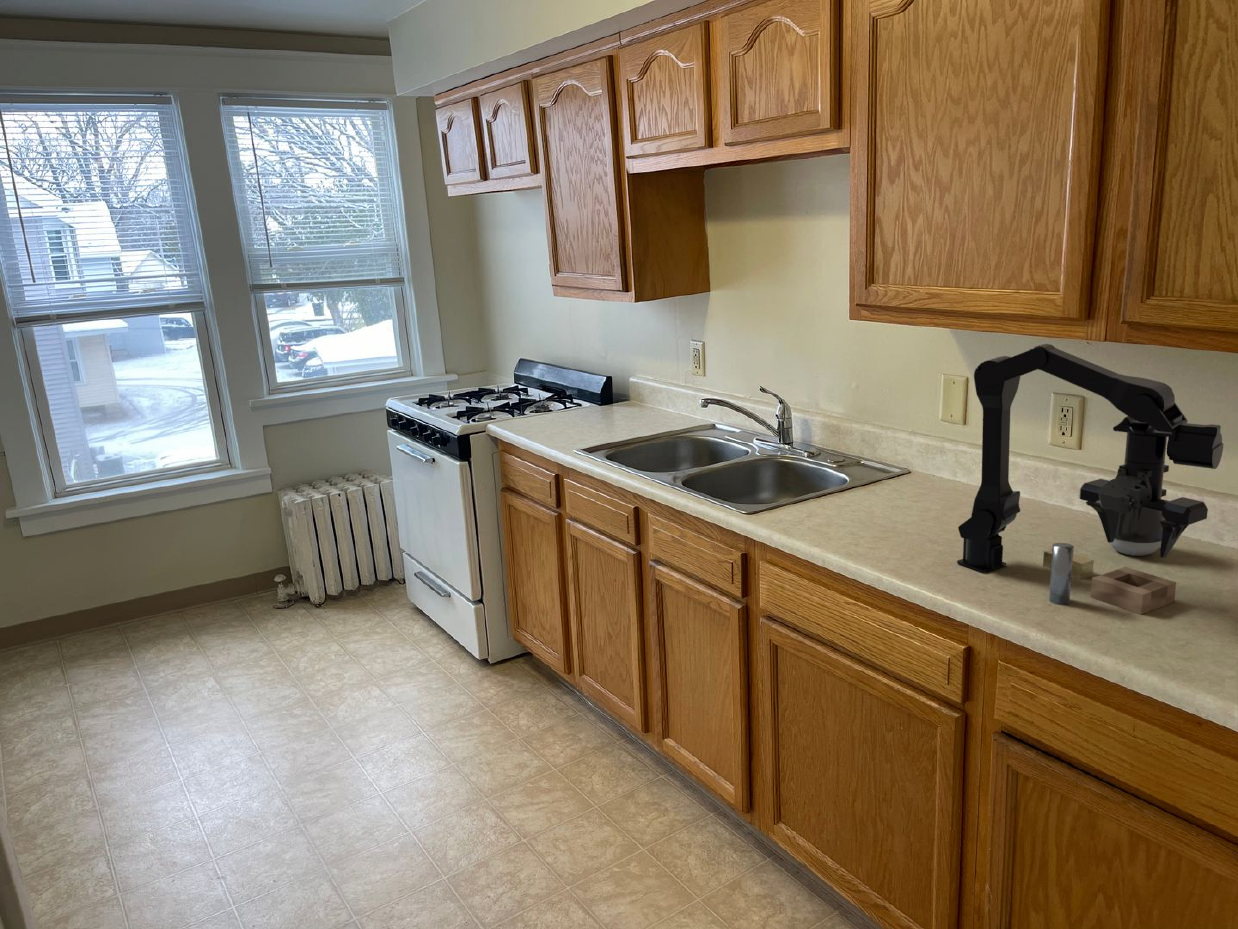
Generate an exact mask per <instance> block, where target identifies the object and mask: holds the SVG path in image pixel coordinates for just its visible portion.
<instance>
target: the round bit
mask: <svg viewBox="0 0 1238 929" xmlns="http://www.w3.org/2000/svg"><path fill="white" fill-rule="evenodd" d="M1074 547H1075V546H1074V545H1073V544H1071V543H1067V542H1066V543H1065V542H1055V543H1053V544H1052V548H1051V549H1052V563H1051V569H1050V580H1049V593H1048V594H1049V597H1048V600H1049V602H1050V603H1052V604H1055V605H1060V606H1061V605H1062V606H1064V605H1069V604H1070V603H1071V590H1072V589H1071V588H1072V578H1073V576H1072V563H1073V554H1074V550H1075V549H1074Z"/></svg>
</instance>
